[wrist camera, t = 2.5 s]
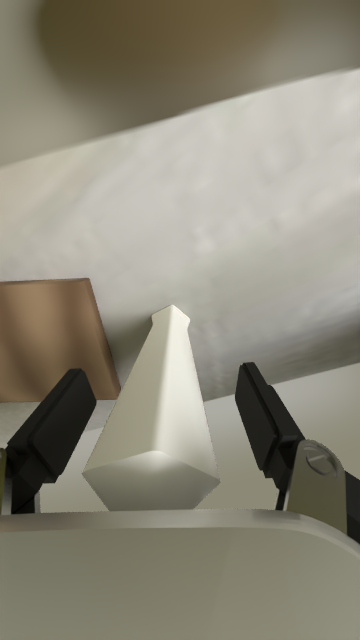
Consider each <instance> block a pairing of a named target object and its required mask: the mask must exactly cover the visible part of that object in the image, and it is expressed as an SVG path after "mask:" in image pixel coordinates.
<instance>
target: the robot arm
mask: <svg viewBox="0 0 360 640" xmlns="http://www.w3.org/2000/svg"><path fill="white" fill-rule="evenodd" d="M235 401H236V404H237V407H238V410H239V413H240V416H241V419H242V422H243V425H244V427H245V430H246V433H247V436H248V439H249V442H250V445H251V448H252V451H253V454H254V457H255V459H256V463H257V465H258V468H259V469H260V470H263V472H264V475H265V478H273V480H274V483H275V485H276V487H277V488H278V491H277V496H276V500H275V505H274V509H273V510H265V509H203V510H202V509H200V510H143V511H100V512H99V511H98V512H61V513H41V512H40V494H39V490H40V488H41V486H42V484H43V483H55V482H56V480H57V478H58V476H59V475H61V474H62V473H63V471H64V469H65V467H66V465H67V463H68V461H69V459H70V457H71V455H72V453H73V451H74V449H75V447H76V445H77V443H78V441H79V439H80V437H81V435H82V433H83V431H84V429H85V427H86V425H87V423H88V421H89V419H90V417H91V415H92V413H93V411H94V409H95V406H96V398H95V396H94V393H93V391H92V388H91V386H90V383H89V381H88V378H87V376H86V373H85V371H83V370H82V369H81V368H74V369H69V370H68V371H67V372H66V373H65V375H64V376H63V377H62V378H61V379H60V381H59V382H58V383H57V384H56V385H55V387H54V388H53V389H52V390H51V391H50V393H49V394H48V395H47V396H46V397H45V399H44V400H43V401H42V402H41V403H40V405H39V406H38V407H37V408H36V409H35V411H34V412H33V413H32V414H31V415H30V417H29V418H28V419H27V420H26V421H25V423H24V424H23V425H22V426H21V427H20V429H19V430H18V431H17V432H16V433H15V435H14V436H13V437H12V438H11V439H10V441H9V442H8V443H7V444H8V446H7V447H6V449H4V448H0V640H360V480H359V479H357V478H356V477H354V476H353V475H351V474H349V473H348V472H346V471H345V470H344V468H343V466H342V464H341V462H340V460H339V459H338V458H337V456H336V455H335V454H334V453H333V452H332V451H331V450H330V449H329V448H327V447H326V446H324V445H323V444H321V443H319V442H317V441H315V440H310V439H307V440H306V439H305V437H304V436H303V434H302V433H301V431H300V429H299V428H298V426H297V425H296V423H295V421H294V420H293V418H292V417H291V415H290V414H289V412H288V410H287V409H286V407H285V406H284V404H283V402H282V401H281V399H280V397H279V396H278V394H277V393H276V391H275V390H274V388H273V387H272V386H271V385H267V383H266V382H265V380H264V378H263V377H262V375H261V373H260V371H259V370H258V368H257V366H256V365H255V363H253V362H249V363H243V365H240V368H239V374H238V380H237V387H236V393H235Z"/></svg>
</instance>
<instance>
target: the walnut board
mask: <svg viewBox="0 0 360 640" xmlns="http://www.w3.org/2000/svg"><path fill="white" fill-rule="evenodd" d="M74 368H81V369H82V370H83V371H85V373H86V376H87V378H88V381H89V383H90V386H91V388H92V391H93V393H94V396H95V398H96V400H115V399H117V398H118V395H119V393H120V390H121V388H120V384H119V381H118V377H117V374H116V370H115V367H114V363H113V360H112V356H111V353H110V349H109V346H108V342H107V339H106V335H105V332H104V328H103V325H102V321H101V318H100V314H99V311H98V307H97V304H96V300H95V297H94V293H93V290H92V286H91V283H90V279H89V278H81V279H56V280H32V281H8V282H0V403H3V402H40V401H43V400H44V399H45V397H46V396H47V395H48V394H49V393H50V391H51V390H52V389H53V388H54V387H55V385H56V384H57V383H58V382H59V381H60V379H61V378H62V377H63V376H64V375H65V373H66V372H67V371H68V370H69V369H74Z"/></svg>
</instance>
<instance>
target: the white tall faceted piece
mask: <svg viewBox="0 0 360 640" xmlns="http://www.w3.org/2000/svg"><path fill="white" fill-rule="evenodd" d="M151 317H152V323H153V326H152V328H151V330H150V332H149V334H148V336H147V339H146V341H145V343H144V345H143V347H142V349H141V351H140V353H139V355H138V357H137V360H136V362H135V364H134V366H133V368H132V370H131V372H130V374H129V376H128V378H127V380H126V383H125V385H124V387H123V389H122V391H121V393H120V395H119V397H118V399H117V401H116V404H115V406H114V408H113V410H112V412H111V414H110V416H109V418H108V420H107V422H106V424H105V427H104V429H103V431H102V433H101V435H100V437H99V439H98V441H97V443H96V445H95V448H94V450H93V452H92V454H91V456H90V458H89V460H88V462H87V464H86V467H85V469H84V471H83V473H82V475H83V476H84V478H85V479H86V481H87V482H88V483H89V484H90V486H91V487H92V489H93V490H94V491H95V492H96V494H97V495H98V496H99V498H100V499H101V500H102V502H103V503H104V504H105V506H106V507H107V508H108V510H109V511H143V510H193V509H194V508H195V507H196V506H197V505H198V504H199V503H200V502H201V501H202V500H203V499H204V498H205V497H206V496H207V495H208V494H209V493H210V492H211V491H212V490H213V489H214V488H215V487H216V486H217V485H219V483H220V478H219V473H218V469H217V464H216V459H215V455H214V450H213V446H212V441H211V437H210V432H209V428H208V423H207V418H206V414H205V409H204V405H203V400H202V395H201V391H200V386H199V382H198V377H197V373H196V368H195V364H194V359H193V354H192V350H191V345H190V341H189V336H188V332H187V328H188V325H189V323H190V319H189V318H188V317H187V316H186V315H185V314H184V313H182V312H181V311H180V310H179V309H178V308H177V307H175V306H174V305H170V306H168V307H166V308H164V309H162V310H160V311H158V312H156V313H154V314H153V315H152V316H151Z"/></svg>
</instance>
